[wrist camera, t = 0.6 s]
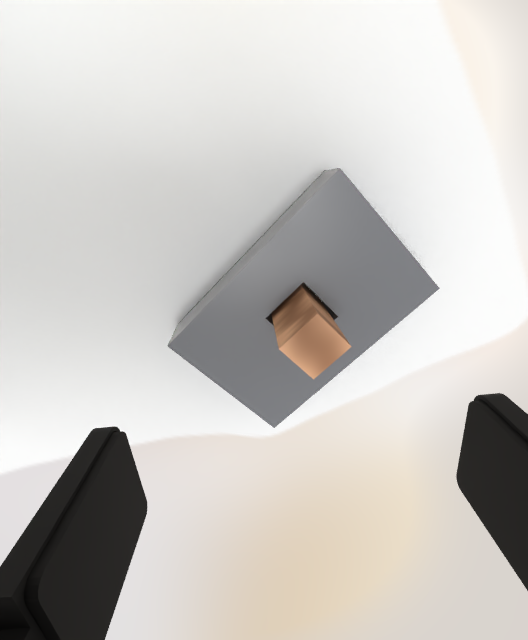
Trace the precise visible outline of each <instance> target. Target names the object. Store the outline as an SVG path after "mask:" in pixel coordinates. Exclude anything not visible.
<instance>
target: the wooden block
mask: <svg viewBox="0 0 528 640" xmlns="http://www.w3.org/2000/svg"><path fill="white" fill-rule="evenodd" d="M271 315H272V320H273V324H274V329H275V334H276V338H277V343H278V348H279V350H280V351H282V352H283V353H284V354H285V355H286V356H287V357H288V358H290V359H291V360H292V361H293V362H294V363H295V364H296V365H298V366H299V367H300V368H301V369H302V370H303V371H304V372H306V373H307V374H308V375H309V376H310V377H311V378H312V379H315V378H316V377H317V376H318V375H319V374H321V373H322V372H323V371H324V370H325V369H326V368H328V367H329V366H330V365H331V364H332V363H333V362H334V361H336V360H337V359H338V358H339V357H340V356H341V355H343V354H344V353H345V352H346V351H347V350H348V349H350V348H351V345H350V344H349V342H348V341H347V339H346V338H345V336H344V335H343V333H342V332H341V330H340V329H339V327H338V326H337V324H336V323H335V321H334V320H333V318H332V317H331V315H330V314H329V312H328V311H327V309H326V308H325V306H324V304H323V303H322V301H321V300H320V298H319V297H318V296H316V295H315V294H314V293H313V292H312V291H311V290H310V289H309V288H308V287H307V286H306V285H305V284H304V283H302V284H301V285H300V286H299V287H298V288H297V289H296V290H295V291H294V292H293V293H291V294H290V295H289V296H288V297H287V298H286V299H285V300H284V301H283V302H282V303H281V304H280V305H279V306H278V307H277V308H276V309H275V310H274V311H273V312H272V313H271Z"/></svg>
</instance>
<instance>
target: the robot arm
mask: <svg viewBox="0 0 528 640" xmlns="http://www.w3.org/2000/svg"><path fill="white" fill-rule="evenodd" d="M457 482H458V486H459V488H460V490H461V491H462V493H463V494H464V496H465V497H466V499H467V500H468V502H469V503H470V505H471V506H472V508H473V509H474V511H475V512H476V514H477V515H478V517H479V518H480V520H481V521H482V523H483V524H484V526H485V527H486V529H487V530H488V532H489V533H490V535H491V536H492V538H493V539H494V541H495V542H496V544H497V545H498V547H499V548H500V550H501V551H502V553H503V554H504V556H505V557H506V559H507V560H508V562H509V563H510V565H511V566H512V568H513V569H514V571H515V572H516V574H517V575H518V577H519V578H520V580H521V581H522V583H523V584H524V586H525V587H526V589H527V590H528V414H527V413H525V412H524V411H523V410H522V409H521V408H519V407H518V406H517V405H516V404H515V403H514V402H512V401H511V400H510V399H509V398H508V397H507V396H505V395H503V394H500V393H497V394H486V395H478V396H476V397H475V399H474V401H472V402H470V403H469V406H468V412H467V417H466V423H465V429H464V435H463V440H462V446H461V452H460V458H459V463H458V469H457ZM146 514H147V500H146V497H145V493H144V490H143V487H142V484H141V481H140V478H139V474H138V471H137V468H136V465H135V461H134V458H133V455H132V452H131V449H130V445H129V442H128V439H127V436H126V433H125V432H120V430H119V429H118V428H117V427H105V428H95V429H93V430H92V431H91V432H90V434H89V435H88V437H87V438H86V440H85V441H84V443H83V444H82V446H81V447H80V449H79V450H78V452H77V453H76V455H75V456H74V458H73V459H72V461H71V462H70V464H69V465H68V467H67V468H66V470H65V471H64V473H63V474H62V476H61V477H60V478H59V480H58V481H57V483H56V484H55V486H54V487H53V489H52V490H51V492H50V493H49V495H48V497H47V498H46V500H45V501H44V502H43V504H42V505H41V507H40V508H39V510H38V511H37V513H36V514H35V516H34V517H33V519H32V520H31V522H30V523H29V525H28V526H27V528H26V529H25V531H24V532H23V534H22V535H21V537H20V538H19V540H18V541H17V543H16V544H15V546H14V547H13V549H12V550H11V552H10V553H9V555H8V556H7V558H6V559H5V561H4V562H3V563H2V565H1V566H0V640H105V637H106V634H107V631H108V628H109V625H110V622H111V619H112V616H113V613H114V610H115V607H116V604H117V601H118V598H119V595H120V592H121V589H122V586H123V583H124V580H125V577H126V574H127V571H128V568H129V565H130V562H131V559H132V556H133V553H134V550H135V547H136V544H137V541H138V538H139V535H140V532H141V529H142V526H143V523H144V520H145V517H146Z"/></svg>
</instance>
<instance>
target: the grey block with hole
mask: <svg viewBox="0 0 528 640" xmlns="http://www.w3.org/2000/svg"><path fill="white" fill-rule="evenodd" d="M303 282H304V283H305V284H306V285H307V286H308V287H309V288H310V289H311V290H312V291H313V292H314V293H315V294H316V295H317V296H318V297H319V298H320V299H321V300H322V303H323V304H324V306H325V308H326V309H327V311H328V312H329V314H330V315H331V317H332V318H333V320H334V321H335V323H336V324H337V326H338V327H339V329H340V330H341V332H342V333H343V335H344V336H345V338H346V339H347V341H348V342H349V344H350V345H351V348H350V349H348V350H347V351H346V352H345V353H344V354H343V355H341V356H340V357H339V358H338V359H337V360H336V361H334V362H333V363H332V364H331V365H330V366H329V367H328V368H326V369H325V370H324V371H323V372H322V373H321V374H319V375H318V376H317V377H316V378H315V379H312V378H311V377H310V376H309V375H308V374H307V373H306V372H304V371H303V370H302V369H301V368H300V367H299V366H298V365H296V364H295V363H294V362H293V361H292V360H291V359H290V358H288V357H287V356H286V355H285V354H284V353H283V352H282V351H280V350H279V348H278V343H277V338H276V334H275V329H274V324H273V320H272V315H271V313H272V312H273V311H274V310H275V309H276V308H277V307H278V306H279V305H280V304H281V303H282V302H283V301H284V300H285V299H286V298H287V297H288V296H289V295H290V294H291V293H293V292H294V291H295V290H296V289H297V288H298V287H299V286H300V285H301V284H302V283H303ZM438 289H439V287H438V286H437V285H436V284H435V282H434V281H433V280H432V279H431V278H430V276H429V275H428V274H427V273H426V271H425V270H424V269H423V268H422V267H421V265H420V264H419V263H418V262H417V261H416V259H415V258H414V257H413V256H412V255H411V253H410V252H409V251H408V250H407V249H406V247H405V246H404V245H403V244H402V242H401V241H400V240H399V239H398V238H397V236H396V235H395V234H394V233H393V232H392V230H391V229H390V228H389V227H388V226H387V224H386V223H385V222H384V221H383V220H382V218H381V217H380V216H379V215H378V214H377V212H376V211H375V210H374V209H373V207H372V206H371V205H370V204H369V203H368V201H367V200H366V199H365V198H364V197H363V195H362V194H361V193H360V192H359V191H358V189H357V188H356V187H355V186H354V185H353V183H352V182H351V181H350V180H349V178H348V177H347V176H346V175H345V174H344V172H343V171H342V170H341V169H340V168H337V169H331V170H326V171H324V172H323V173H322V174H321V175H320V176H319V177H318V178H317V179H316V180H315V181H314V182H313V183H312V184H311V185H310V186H309V188H308V189H307V190H306V191H305V192H304V193H303V194H302V195H301V196H300V197H299V198H298V199H297V200H296V201H295V202H294V203H293V204H292V205H291V206H290V207H289V208H288V209H287V211H286V212H285V213H284V214H283V215H282V216H281V217H280V218H279V219H278V220H277V221H276V222H275V223H274V224H273V225H272V226H271V227H270V228H269V229H268V230H267V231H266V232H265V233H264V235H263V236H262V237H261V238H260V239H259V240H258V241H257V242H256V243H255V244H254V245H253V246H252V247H251V248H250V249H249V250H248V251H247V252H246V253H245V254H244V255H243V256H242V258H241V259H240V260H239V261H238V262H237V263H236V264H235V265H234V266H233V267H232V268H231V269H230V270H229V271H228V272H227V273H226V274H225V275H224V276H223V277H222V278H221V279H220V281H219V282H218V283H217V284H216V285H215V286H214V287H213V288H212V289H211V290H210V291H209V292H208V293H207V294H206V295H205V296H204V297H203V298H202V299H201V300H200V301H199V302H198V304H197V305H196V306H195V307H194V308H193V309H192V310H191V311H190V312H189V313H188V314H187V315H186V316H185V317H184V318H183V319H182V320H181V321H180V322H179V323H178V325H177V327H176V329H175V331H174V333H173V335H172V338H171V340H170V342H169V344H168V347H169V348H171V349H172V350H173V351H175V352H176V353H177V354H179V355H180V356H181V357H182V358H184V359H185V360H186V361H188V362H189V363H190V364H192V365H193V366H194V367H195V368H197V369H198V370H199V371H201V372H202V373H203V374H205V375H206V376H207V377H208V378H210V379H211V380H212V381H214V382H215V383H216V384H218V385H219V386H220V387H222V388H223V389H224V390H225V391H227V392H228V393H229V394H231V395H232V396H233V397H235V398H236V399H237V400H238V401H240V402H241V403H242V404H244V405H245V406H246V407H248V408H249V409H250V410H251V411H253V412H254V413H255V414H257V415H258V416H259V417H261V418H262V419H263V420H265V421H266V422H267V423H268V424H270V425H271V426H272V427H274V428H275V427H276V426H277V425H278V424H279V423H281V422H282V421H283V420H284V419H285V418H287V417H288V416H289V415H290V414H291V413H292V412H294V411H295V410H296V409H297V408H298V407H300V406H301V405H302V404H303V403H304V402H305V401H307V400H308V399H309V398H310V397H311V396H313V395H314V394H315V393H316V392H317V391H319V390H320V389H321V388H322V387H323V386H324V385H326V384H327V383H328V382H329V381H330V380H332V379H333V378H334V377H335V376H336V375H337V374H339V373H340V372H341V371H342V370H343V369H345V368H346V367H347V366H348V365H349V364H351V363H352V362H353V361H354V360H355V359H356V358H358V357H359V356H360V355H361V354H362V353H364V352H365V351H366V350H367V349H368V348H370V347H371V346H372V345H373V344H374V343H375V342H377V341H378V340H379V339H380V338H381V337H383V336H384V335H385V334H386V333H387V332H388V331H390V330H391V329H392V328H393V327H394V326H396V325H397V324H398V323H399V322H400V321H402V320H403V319H404V318H405V317H406V316H407V315H409V314H410V313H411V312H412V311H413V310H415V309H416V308H417V307H418V306H419V305H420V304H422V303H423V302H424V301H425V300H426V299H428V298H429V297H430V296H431V295H432V294H434V293H435V292H436V291H437V290H438Z"/></svg>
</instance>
